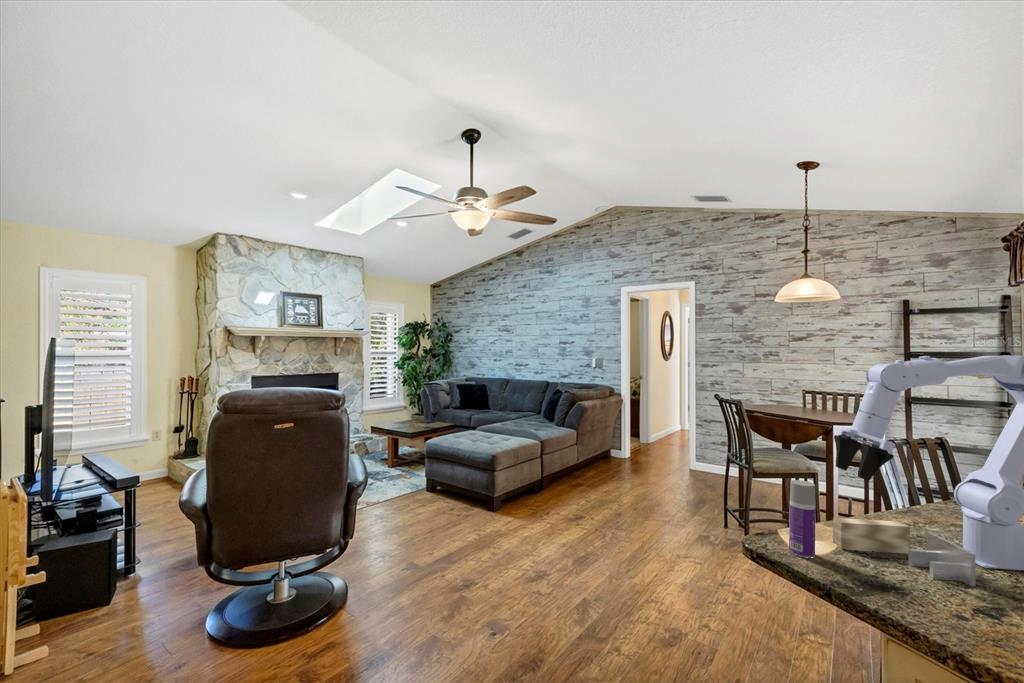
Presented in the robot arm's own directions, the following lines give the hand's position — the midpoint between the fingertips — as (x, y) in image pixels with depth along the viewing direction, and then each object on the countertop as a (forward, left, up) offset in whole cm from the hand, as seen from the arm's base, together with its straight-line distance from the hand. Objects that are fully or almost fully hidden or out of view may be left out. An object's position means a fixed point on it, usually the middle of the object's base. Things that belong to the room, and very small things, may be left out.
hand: (851, 473), depth 100 cm
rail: (-5, -1, -17) cm, 17 cm away
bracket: (-10, +9, -16) cm, 21 cm away
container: (+12, +4, -17) cm, 21 cm away
